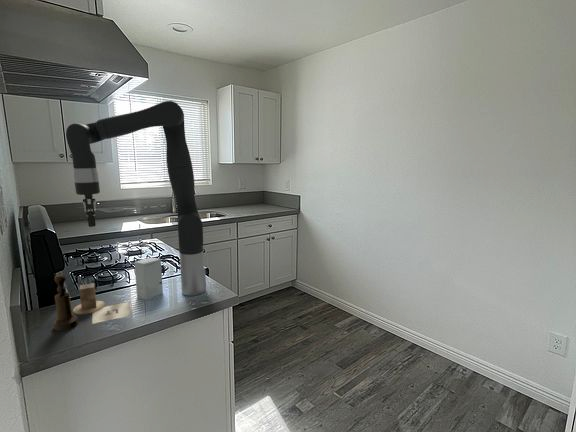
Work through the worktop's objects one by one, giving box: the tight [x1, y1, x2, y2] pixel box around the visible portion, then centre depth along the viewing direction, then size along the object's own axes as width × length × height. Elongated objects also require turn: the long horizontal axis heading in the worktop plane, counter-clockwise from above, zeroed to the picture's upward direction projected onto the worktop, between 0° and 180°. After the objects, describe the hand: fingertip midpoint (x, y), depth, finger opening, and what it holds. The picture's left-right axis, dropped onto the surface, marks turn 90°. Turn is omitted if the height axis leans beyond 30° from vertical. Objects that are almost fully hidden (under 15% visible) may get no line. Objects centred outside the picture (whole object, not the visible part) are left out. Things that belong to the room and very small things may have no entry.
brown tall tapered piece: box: [53, 273, 79, 332], centre depth 104 cm, size 7×6×18 cm
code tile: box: [91, 301, 133, 325], centre depth 115 cm, size 12×12×1 cm
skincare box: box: [133, 257, 164, 301], centre depth 129 cm, size 8×6×15 cm
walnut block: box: [78, 282, 97, 311], centre depth 118 cm, size 4×4×8 cm
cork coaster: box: [72, 300, 106, 315], centre depth 119 cm, size 10×10×1 cm
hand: (92, 224), depth 120 cm, fingers open, 8 cm apart
